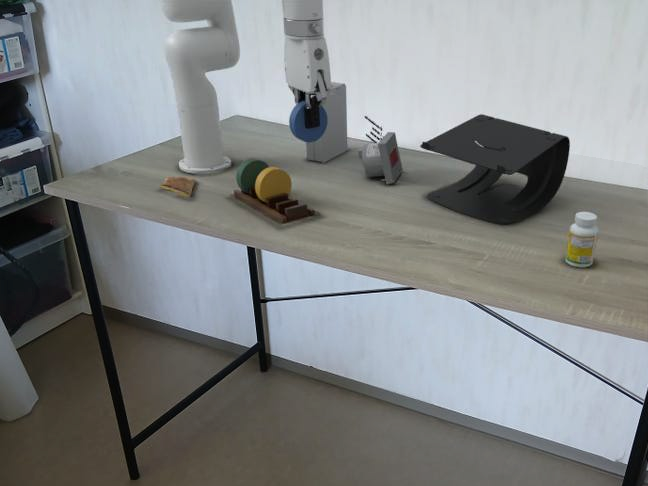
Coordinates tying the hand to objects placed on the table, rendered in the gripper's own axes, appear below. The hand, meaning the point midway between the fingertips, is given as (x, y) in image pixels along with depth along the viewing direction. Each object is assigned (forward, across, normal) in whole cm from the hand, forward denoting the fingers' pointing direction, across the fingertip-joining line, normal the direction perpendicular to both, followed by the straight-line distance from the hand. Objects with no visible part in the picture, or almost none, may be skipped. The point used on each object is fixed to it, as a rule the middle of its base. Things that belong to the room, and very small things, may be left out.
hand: (308, 125), depth 152 cm
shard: (+19, +29, +16) cm, 38 cm away
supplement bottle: (+19, -51, -28) cm, 61 cm away
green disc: (+18, +16, +5) cm, 25 cm away
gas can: (+19, +31, -24) cm, 44 cm away
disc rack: (+19, +8, +5) cm, 21 cm away
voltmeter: (+19, +16, -30) cm, 39 cm away
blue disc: (+3, 0, 0) cm, 3 cm away
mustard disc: (+18, +8, +5) cm, 21 cm away
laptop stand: (+19, -17, -38) cm, 45 cm away
